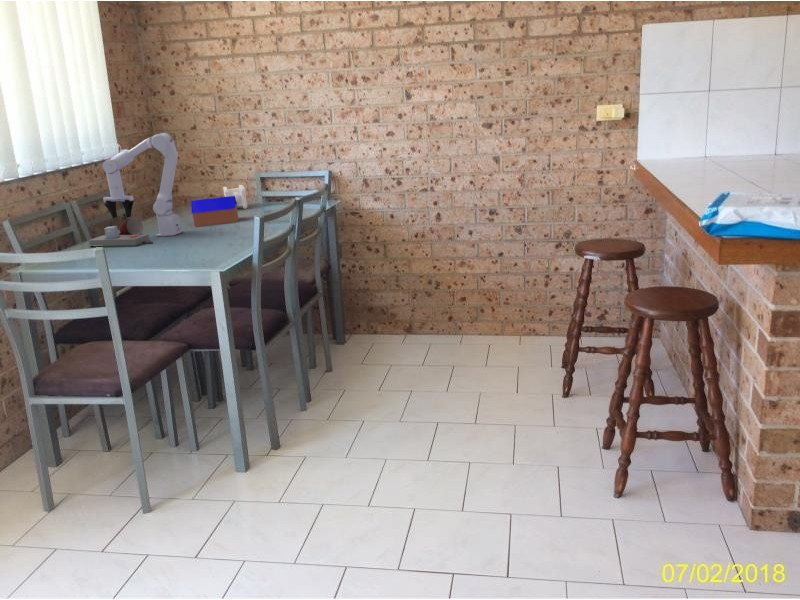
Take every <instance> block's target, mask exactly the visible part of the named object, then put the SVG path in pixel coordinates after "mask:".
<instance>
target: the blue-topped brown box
mask: <svg viewBox="0 0 800 600" xmlns="http://www.w3.org/2000/svg"><path fill="white" fill-rule="evenodd" d="M190 203H191V205H190V206H191V214H192V219H193V223H194V227H195V228H197V227H206V226H214V225H223V224H231V223H237V222H238V220H239V213H238V206H236V205H237V202H236V199H235V196H228V197H224V196H222V197H221V196H220V197H212V198H204V199H203V198H201V199H195V200H194V199H193V200H191V201H190Z"/></svg>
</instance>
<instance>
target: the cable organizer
mask: <svg viewBox="0 0 800 600" xmlns="http://www.w3.org/2000/svg"><path fill="white" fill-rule="evenodd" d="M222 191H223V195H224V196H223V197H228V196H235V199H236V202H237V205H236V206H237V207H238V206H239V207H241V206H242V208H243V209H244V210H247V209H248V201H247V195H246V191H247V190H246V187H245V186H244V185H243V184H238V187H235V188H234V187H233V188H228V187H227V186H223V187H222Z"/></svg>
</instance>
